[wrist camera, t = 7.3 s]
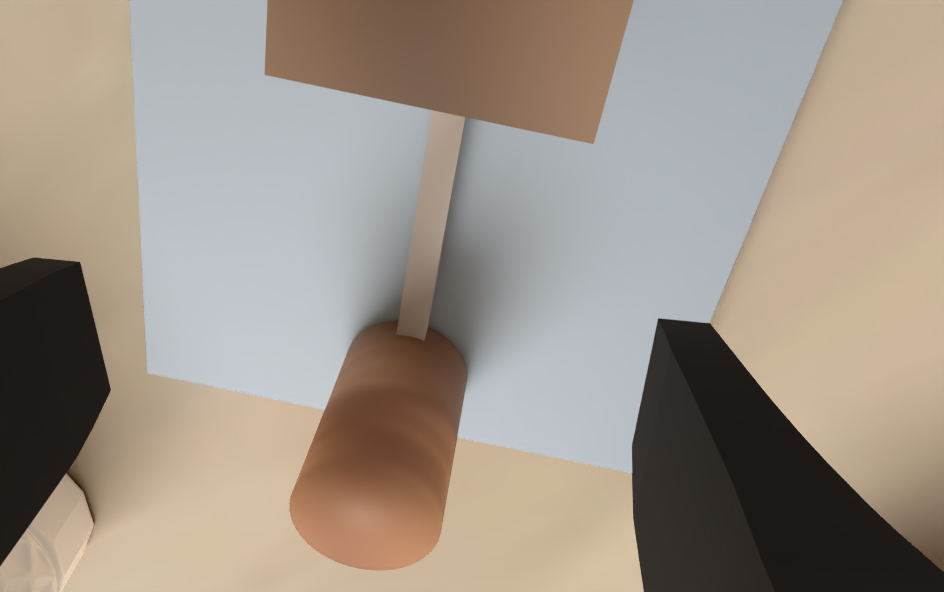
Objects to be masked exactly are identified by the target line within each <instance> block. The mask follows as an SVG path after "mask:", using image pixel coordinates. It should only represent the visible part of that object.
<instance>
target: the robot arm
mask: <svg viewBox="0 0 944 592" xmlns="http://www.w3.org/2000/svg"><path fill="white" fill-rule="evenodd" d="M110 391H111V389H110V385H109V380H108V376H107V372H106V368H105V364H104V360H103V355H102V351H101V347H100V343H99V339H98V335H97V331H96V326H95V322H94V318H93V314H92V310H91V306H90V301H89V297H88V293H87V289H86V285H85V281H84V276H83V272H82V268H81V264H80V262H74V261H63V260H53V259H43V258H31V259H28V260H24V261H21V262H18V263H15V264H12V265H9V266H6V267H3V268H1V269H0V566H1V565H2V563H3V562H4V561H5V559H6V558H7V556H8V555H9V554H10V552H11V551H12V549H13V548H14V547H15V545H16V544H17V542H18V541H19V540H20V538H21V537H22V535H23V534H24V533H25V531H26V530H27V528H28V527H29V526H30V524H31V523H32V521H33V520H34V518H35V517H36V516H37V514H38V513H39V511H40V510H41V509H42V507H43V506H44V504H45V503H46V501H47V500H48V499H49V497H50V496H51V494H52V493H53V491H54V490H55V489H56V487H57V486H58V484H59V483H60V481H61V480H62V478H63V477H64V476H65V474H66V473H67V471H68V470H69V468H70V467H71V465H72V464H73V462H74V461H75V459H76V458H77V456H78V454H79V453H80V451H81V449H82V447H83V445H84V443H85V441H86V439H87V438H88V436H89V434H90V432H91V430H92V428H93V426H94V424H95V422H96V420H97V418H98V416H99V414H100V412H101V410H102V407H103V405H104V403H105V401H106V399H107V397H108V395H109V393H110ZM632 487H633V519H634V526H635V533H636V541H637V547H638V554H639V561H640V568H641V575H642V582H643V588H644V592H944V572H943V571H942V570H940V569H939V568H938V567H937V566H936V565H935V564H934V563H932V562H931V561H930V560H929V559H928V558H927V557H926V556H924V555H923V554H922V553H921V552H920V551H919V550H918V549H917V548H915V547H914V546H913V545H912V544H911V543H910V542H909V541H907V540H906V539H905V538H904V537H903V536H902V535H901V534H899V533H898V532H897V531H896V530H895V529H894V528H893V527H892V526H891V525H890V524H888V523H887V522H886V521H885V520H884V519H883V518H882V517H881V516H880V515H879V514H878V513H877V512H876V511H875V510H874V509H873V508H872V507H871V506H869V505H868V504H867V503H866V502H865V501H864V500H863V499H862V498H861V497H860V496H859V494H858V493H857V492H856V491H855V490H854V489H853V488H852V487H851V486H850V485H849V484H848V483H847V482H846V481H845V480H844V479H843V478H842V477H841V476H840V475H839V474H838V473H837V472H836V471H835V470H834V469H833V468H832V467H831V466H830V465H829V464H828V463H827V462H826V461H825V460H824V459H823V458H822V456H821V455H820V454H819V453H818V452H817V451H816V450H815V449H814V448H813V447H812V446H811V445H810V443H809V442H808V441H807V440H806V439H805V438H804V437H803V436H802V435H801V433H800V432H799V431H798V430H797V429H796V428H795V427H794V426H793V424H792V423H791V422H790V421H789V420H788V419H787V418H786V416H785V415H784V414H783V413H782V412H781V411H780V409H779V408H778V407H777V406H776V405H775V404H774V402H773V401H772V400H771V399H770V398H769V396H768V395H767V394H766V393H765V392H764V390H763V389H762V388H761V387H760V385H759V384H758V383H757V382H756V380H755V379H754V378H753V377H752V375H751V374H750V373H749V372H748V371H747V369H746V368H745V367H744V365H743V364H742V363H741V362H740V360H739V359H738V358H737V357H736V355H735V354H734V353H733V352H732V350H731V349H730V348H729V347H728V345H727V344H726V343H725V342H724V340H723V339H722V338H721V337H720V335H719V334H718V333H717V332H716V330H715V329H714V328H713V327H712V326H711V324H710V323H702V322H692V321H682V320H671V319H661V318H658V321H657V326H656V331H655V336H654V341H653V345H652V350H651V355H650V360H649V365H648V370H647V375H646V379H645V384H644V389H643V394H642V399H641V404H640V408H639V413H638V418H637V423H636V428H635V433H634V437H633V442H632Z"/></svg>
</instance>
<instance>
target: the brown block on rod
mask: <svg viewBox="0 0 944 592" xmlns="http://www.w3.org/2000/svg"><path fill="white" fill-rule="evenodd" d="M633 1H634V0H268V1H267V26H266V50H265V74H264V75H267V76H272V77H277V78H281V79H286V80H291V81H296V82H300V83H305V84H310V85H315V86H319V87H324V88H329V89H334V90H338V91H343V92H348V93H353V94H357V95H362V96H367V97H372V98H376V99H381V100H386V101H391V102H395V103H400V104H405V105H410V106H414V107H419V108H424V109H429V110H432V113H431V119H430V126H429V132H428V138H427V145H426V151H425V157H424V163H423V170H422V176H421V182H420V189H419V195H418V201H417V207H416V214H415V220H414V226H413V233H412V239H411V245H410V251H409V258H408V264H407V270H406V277H405V283H404V289H403V295H402V302H401V308H400V314H399V321H394V322H386V323H381V324H378V325H375V326H373V327H370V328H368V329H367V330H365V331H364V332H362V333H361V334H360V335H359V336H357V337H356V339H355V340H354V341H353V342H352V344H351V345H350V347H349V349H348V352H347V354H346V357H345V360H344V362H343V365H342V367H341V370H340V372H339V375H338V377H337V380H336V383H335V385H334V388H333V390H332V393H331V395H330V398H329V400H328V403H327V405H326V408H325V411H324V413H323V416H322V418H321V421H320V423H319V426H318V428H317V431H316V434H315V436H314V439H313V441H312V444H311V446H310V449H309V451H308V454H307V456H306V459H305V462H304V464H303V467H302V469H301V472H300V474H299V477H298V479H297V482H296V485H295V487H294V490H293V492H292V495H291V498H290V514H291V518H292V521H293V524H294V526H295V528H296V529H297V531H298V532H299V534H300V535H301V537H302V538H303V539H304V540H305V541H306V542H307V543H308V544H309V545H310V546H311V547H313V548H314V549H315V550H316V551H318V552H319V553H321V554H322V555H324V556H326V557H328V558H330V559H332V560H334V561H336V562H338V563H341V564H344V565H347V566H351V567H355V568H359V569H366V570H392V569H398V568H402V567H406V566H409V565H411V564H413V563H416V562H418V561H419V560H421V559H423V558H424V557H425V556H426V555H428V554H429V553H430V552H431V551H432V549H433V548H434V547H435V545H436V544H437V542H438V540H439V537H440V533H441V528H442V522H443V516H444V510H445V505H446V499H447V493H448V487H449V482H450V476H451V470H452V464H453V459H454V453H455V447H456V441H457V436H458V430H459V424H460V418H461V413H462V407H463V401H464V395H465V390H466V384H467V370H466V365H465V362H464V359H463V357H462V355H461V354H460V352H459V351H458V349H457V348H456V347H455V345H454V344H453V343H452V342H451V341H450V340H448V339H447V338H446V337H445V336H444V335H442V334H440V333H439V332H437V331H435V330H433V329H432V328H429V327H428V324H429V318H430V313H431V307H432V302H433V296H434V291H435V286H436V280H437V275H438V269H439V264H440V258H441V253H442V248H443V242H444V237H445V231H446V226H447V220H448V215H449V210H450V204H451V199H452V193H453V188H454V182H455V177H456V171H457V166H458V161H459V155H460V150H461V144H462V139H463V133H464V128H465V123H466V118H471V119H476V120H481V121H485V122H490V123H495V124H500V125H504V126H509V127H514V128H519V129H523V130H528V131H533V132H538V133H542V134H547V135H552V136H557V137H561V138H566V139H571V140H576V141H580V142H585V143H590V144H594V141H595V138H596V134H597V130H598V127H599V123H600V120H601V116H602V112H603V109H604V105H605V102H606V98H607V95H608V91H609V87H610V84H611V80H612V77H613V73H614V69H615V66H616V62H617V59H618V55H619V51H620V48H621V44H622V41H623V37H624V34H625V30H626V26H627V23H628V19H629V16H630V12H631V8H632V5H633Z"/></svg>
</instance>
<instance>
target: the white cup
mask: <svg viewBox="0 0 944 592" xmlns="http://www.w3.org/2000/svg"><path fill="white" fill-rule="evenodd" d="M93 526H94V523H93V520H92V517H91V514H90V511H89V508H88V504H87V501H86V498H85V495H84V493H83V491H82V490H81V489H80V488H79V487H78V486H77V485H76V483H75V482H74V481H73V480H72V479H71V478H70V477H69V476H68V475H67V474H65V476H64V477H63V478H62V480H61V481H60V483H59V484H58V486H57V487H56V489H55V490H54V491H53V493H52V494H51V496H50V497H49V499H48V500H47V501H46V503H45V504H44V506H43V507H42V509H41V510H40V511H39V513H38V514H37V516H36V517H35V518H34V520H33V521H32V523H31V524H30V526H29V527H28V528H27V530H26V531H25V533H24V534H23V535H22V537H21V538H20V540H19V541H18V542H17V544H16V545H15V547H14V548H13V549H12V551H11V552H10V554H9V555H8V556H7V558H6V559H5V561H4V562H3V563H2V565H1V566H0V592H62V590H63V588H64V587H65V585H66V583H67V581H68V580H69V578H70V576H71V574H72V573H73V571H74V569H75V568H76V566H77V564H78V562H79V561H80V559H81V557H82V555H83V553H84V551H85V549H86V546H87V543H88V540H89V537H90V535H91V532H92V529H93Z"/></svg>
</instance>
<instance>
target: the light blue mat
mask: <svg viewBox="0 0 944 592" xmlns="http://www.w3.org/2000/svg"><path fill="white" fill-rule="evenodd" d="M267 1H268V0H129V7H130V28H131V48H132V69H133V90H134V110H135V131H136V151H137V172H138V193H139V213H140V234H141V255H142V275H143V296H144V317H145V337H146V358H147V373H148V374H153V375H158V376H163V377H168V378H173V379H177V380H182V381H187V382H192V383H197V384H202V385H206V386H211V387H216V388H221V389H226V390H231V391H235V392H240V393H245V394H250V395H255V396H260V397H264V398H269V399H274V400H279V401H284V402H289V403H293V404H298V405H303V406H308V407H313V408H318V409H322V410H325V408H326V405H327V403H328V400H329V398H330V395H331V393H332V390H333V388H334V385H335V383H336V380H337V377H338V375H339V372H340V370H341V367H342V365H343V362H344V360H345V357H346V354H347V352H348V349H349V347H350V345H351V344H352V342H353V341H354V340H355V339H356V337H357V336H359V335H360V334H361V333H362V332H364V331H365V330H367V329H368V328H370V327H373V326H375V325H378V324H381V323H386V322H394V321H399V314H400V308H401V302H402V295H403V289H404V283H405V277H406V270H407V264H408V258H409V251H410V245H411V239H412V233H413V226H414V220H415V214H416V207H417V201H418V195H419V189H420V182H421V176H422V170H423V163H424V157H425V151H426V145H427V138H428V132H429V126H430V119H431V113H432V110H429V109H424V108H419V107H414V106H410V105H405V104H400V103H395V102H391V101H386V100H381V99H376V98H372V97H367V96H362V95H357V94H353V93H348V92H343V91H338V90H334V89H329V88H324V87H319V86H315V85H310V84H305V83H300V82H296V81H291V80H286V79H281V78H277V77H272V76H267V75H264V74H265V50H266V26H267ZM842 2H843V0H634V1H633V5H632V8H631V12H630V16H629V19H628V23H627V26H626V30H625V34H624V37H623V41H622V44H621V48H620V51H619V55H618V59H617V62H616V66H615V69H614V73H613V77H612V80H611V84H610V87H609V91H608V95H607V98H606V102H605V105H604V109H603V112H602V116H601V120H600V123H599V127H598V130H597V134H596V138H595V141H594V144H590V143H585V142H580V141H576V140H571V139H566V138H561V137H557V136H552V135H547V134H542V133H538V132H533V131H528V130H523V129H519V128H514V127H509V126H504V125H500V124H495V123H490V122H485V121H481V120H476V119H471V118H466V123H465V128H464V133H463V139H462V144H461V150H460V155H459V161H458V166H457V171H456V177H455V182H454V188H453V193H452V199H451V204H450V210H449V215H448V220H447V226H446V231H445V237H444V242H443V248H442V253H441V258H440V264H439V269H438V275H437V280H436V286H435V291H434V296H433V302H432V307H431V313H430V318H429V324H428V327H429V328H432V329H433V330H435V331H437V332H439V333H440V334H442V335H444V336H445V337H446V338H447V339H448V340H450V341H451V342H452V343H453V344H454V345H455V347H456V348H457V349H458V351H459V352H460V354H461V355H462V357H463V359H464V362H465V365H466V370H467V384H466V390H465V395H464V401H463V407H462V413H461V418H460V424H459V430H458V436H457V437H458V438H463V439H468V440H472V441H477V442H482V443H487V444H492V445H497V446H501V447H506V448H511V449H516V450H521V451H526V452H530V453H535V454H540V455H545V456H550V457H555V458H559V459H564V460H569V461H574V462H579V463H584V464H589V465H593V466H598V467H603V468H608V469H613V470H618V471H622V472H627V473H632V442H633V437H634V433H635V428H636V423H637V418H638V413H639V408H640V404H641V399H642V394H643V389H644V384H645V379H646V375H647V370H648V365H649V360H650V355H651V350H652V345H653V341H654V336H655V331H656V326H657V321H658V318H661V319H671V320H682V321H692V322H702V323H710V321H711V318H712V316H713V314H714V311H715V309H716V306H717V304H718V301H719V299H720V297H721V294H722V292H723V289H724V287H725V285H726V282H727V280H728V277H729V275H730V272H731V270H732V268H733V265H734V263H735V260H736V258H737V256H738V253H739V251H740V248H741V246H742V244H743V241H744V239H745V236H746V234H747V231H748V229H749V227H750V224H751V222H752V219H753V217H754V215H755V212H756V210H757V207H758V205H759V202H760V200H761V198H762V195H763V193H764V190H765V188H766V186H767V183H768V181H769V178H770V176H771V174H772V171H773V169H774V166H775V164H776V161H777V159H778V157H779V154H780V152H781V149H782V147H783V145H784V142H785V140H786V137H787V135H788V132H789V130H790V128H791V125H792V123H793V120H794V118H795V116H796V113H797V111H798V108H799V106H800V104H801V101H802V99H803V96H804V94H805V91H806V89H807V87H808V84H809V82H810V79H811V77H812V75H813V72H814V70H815V67H816V65H817V62H818V60H819V58H820V55H821V53H822V50H823V48H824V46H825V43H826V41H827V38H828V36H829V34H830V31H831V29H832V26H833V24H834V21H835V19H836V17H837V14H838V12H839V9H840V7H841V5H842Z"/></svg>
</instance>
